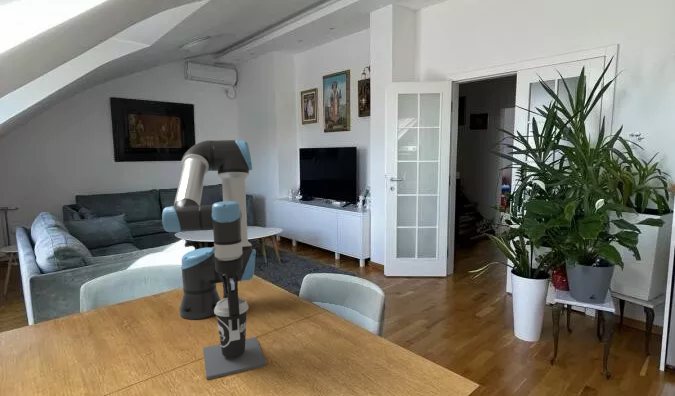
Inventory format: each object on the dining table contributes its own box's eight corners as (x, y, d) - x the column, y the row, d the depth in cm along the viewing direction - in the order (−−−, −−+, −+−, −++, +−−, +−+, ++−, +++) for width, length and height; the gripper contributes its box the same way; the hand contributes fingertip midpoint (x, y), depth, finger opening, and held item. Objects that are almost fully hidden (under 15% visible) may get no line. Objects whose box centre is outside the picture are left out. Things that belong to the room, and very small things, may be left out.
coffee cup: (241, 362, 104) (238, 310, 102) (210, 358, 105) (206, 308, 103) (255, 344, 113) (253, 296, 111) (226, 341, 115) (224, 294, 113)
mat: (203, 350, 114) (203, 347, 114) (256, 339, 120) (256, 336, 120) (206, 379, 99) (206, 376, 99) (266, 365, 105) (266, 362, 105)
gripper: (211, 248, 114) (215, 318, 117) (218, 270, 94) (223, 353, 97) (236, 245, 117) (240, 313, 120) (248, 266, 97) (252, 347, 100)
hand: (232, 331), depth 108 cm, fingers closed on coffee cup, 9 cm apart
